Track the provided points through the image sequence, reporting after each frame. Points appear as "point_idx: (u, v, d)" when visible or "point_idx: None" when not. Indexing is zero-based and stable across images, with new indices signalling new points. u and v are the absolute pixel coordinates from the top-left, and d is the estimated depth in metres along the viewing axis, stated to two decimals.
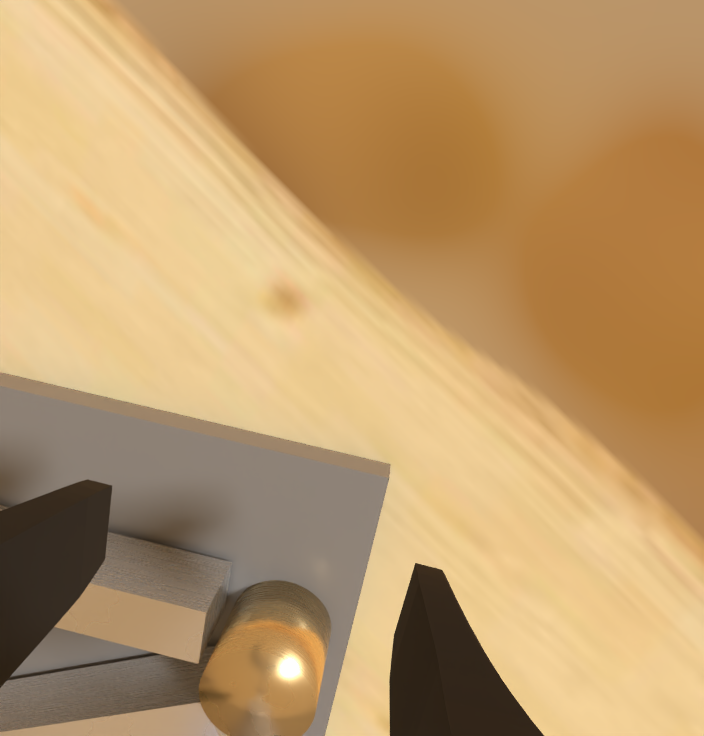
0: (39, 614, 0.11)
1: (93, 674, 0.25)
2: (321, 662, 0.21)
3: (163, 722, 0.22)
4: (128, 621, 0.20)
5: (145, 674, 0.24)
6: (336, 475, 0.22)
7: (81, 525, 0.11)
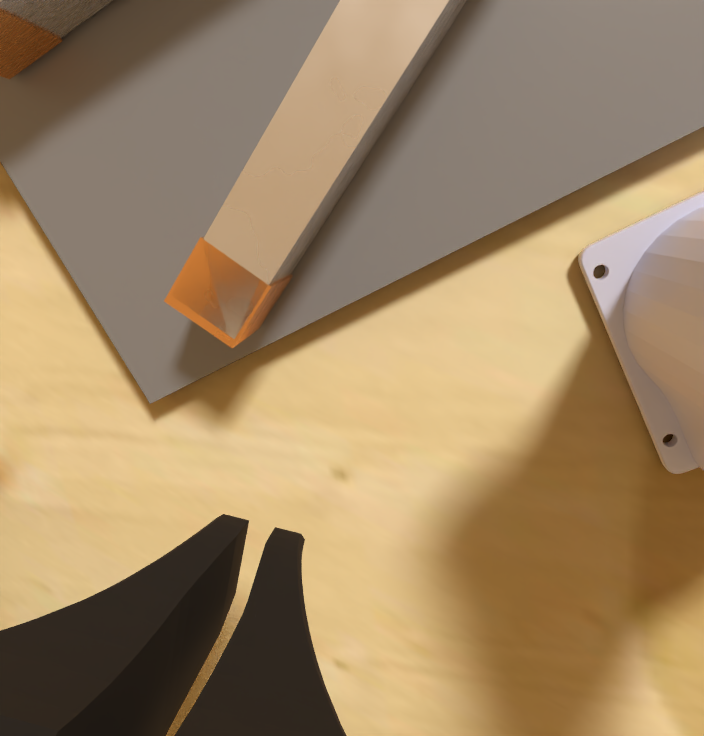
0: (196, 656, 0.11)
1: None
2: None
3: None
4: None
5: None
6: None
7: (229, 564, 0.11)
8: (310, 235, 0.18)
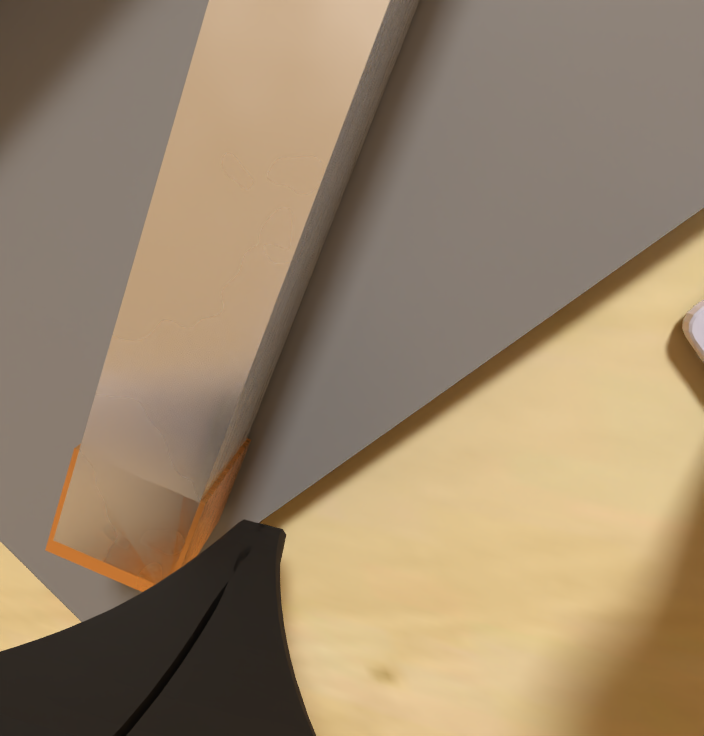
0: None
1: None
2: None
3: None
4: None
5: None
6: None
7: None
8: (258, 390, 0.11)
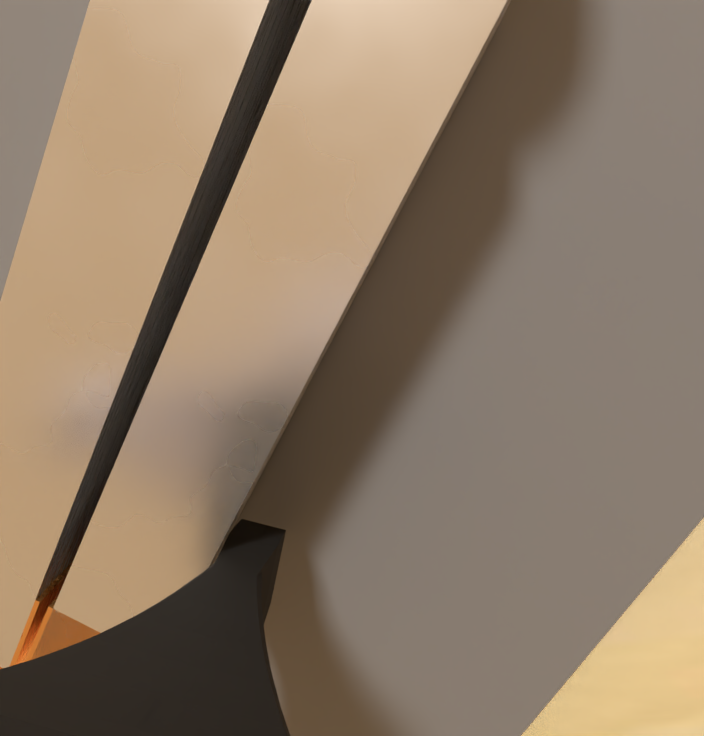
0: None
1: None
2: None
3: (354, 28, 0.08)
4: (180, 8, 0.08)
5: None
6: None
7: (270, 574, 0.11)
8: (222, 546, 0.12)
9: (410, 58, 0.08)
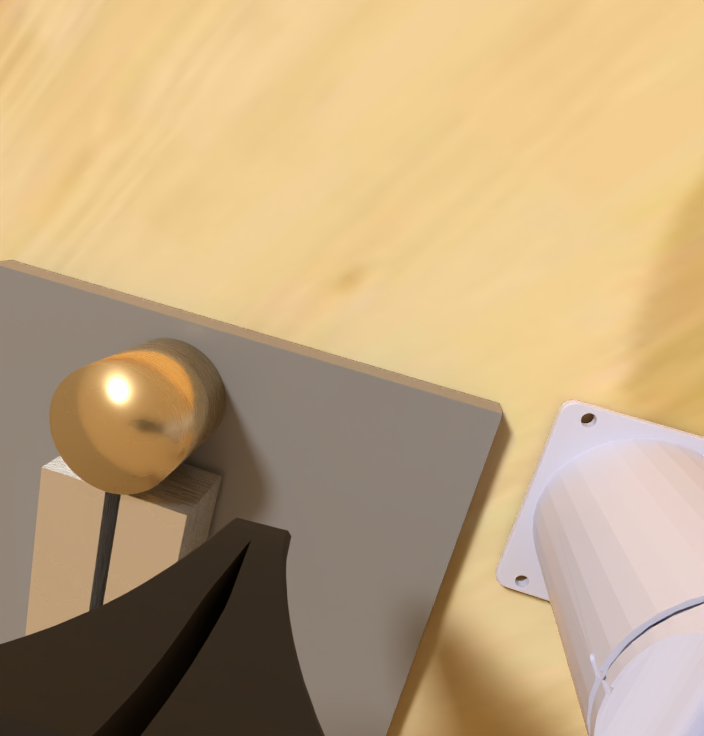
0: None
1: None
2: (123, 352, 0.18)
3: (131, 548, 0.19)
4: (67, 547, 0.19)
5: None
6: None
7: None
8: None
9: (155, 556, 0.19)
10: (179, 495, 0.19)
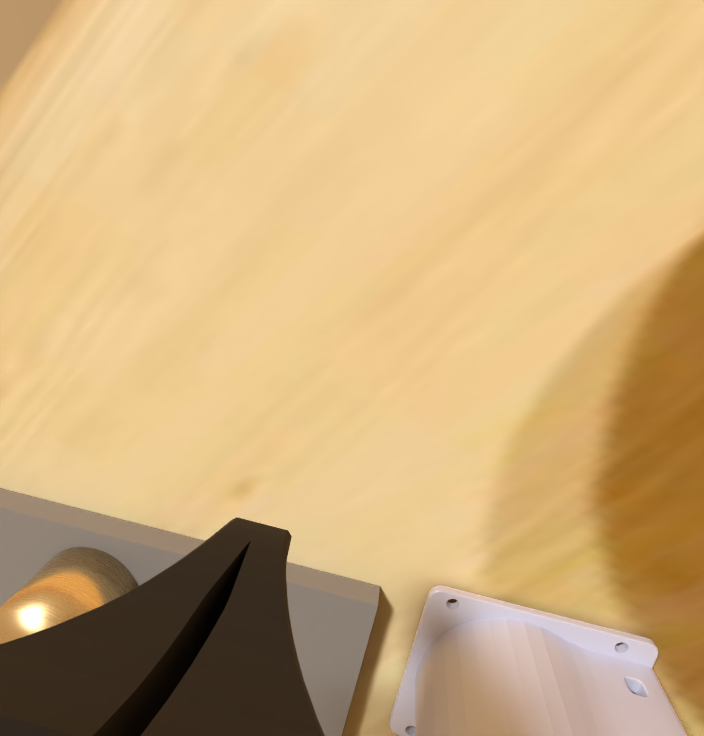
0: None
1: None
2: (39, 583, 0.21)
3: None
4: None
5: None
6: None
7: None
8: None
9: None
10: None
